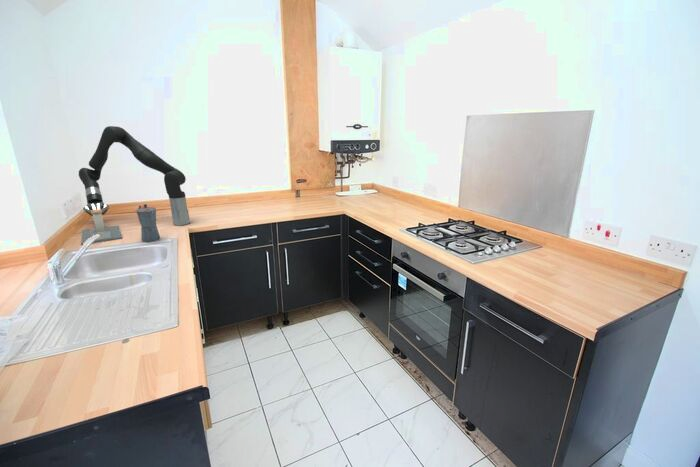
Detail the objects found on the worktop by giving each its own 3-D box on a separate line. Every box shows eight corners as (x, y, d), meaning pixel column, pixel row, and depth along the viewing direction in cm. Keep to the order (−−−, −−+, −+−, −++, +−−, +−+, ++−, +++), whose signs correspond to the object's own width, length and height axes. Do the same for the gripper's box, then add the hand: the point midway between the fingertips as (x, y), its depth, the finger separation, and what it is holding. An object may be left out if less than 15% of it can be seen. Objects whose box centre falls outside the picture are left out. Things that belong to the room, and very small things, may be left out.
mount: (92, 235, 189) (90, 228, 188) (110, 232, 194) (109, 226, 193) (92, 241, 180) (90, 234, 179) (111, 238, 185) (110, 231, 184)
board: (82, 232, 198) (82, 230, 198) (119, 226, 208) (118, 225, 208) (81, 245, 177) (81, 243, 177) (122, 238, 187) (122, 237, 187)
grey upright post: (96, 232, 194) (90, 209, 190) (106, 230, 197) (101, 208, 193) (96, 234, 191) (90, 211, 187) (106, 232, 193) (101, 210, 189)
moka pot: (149, 244, 178) (142, 207, 172) (134, 239, 186) (126, 203, 180) (166, 239, 186) (160, 204, 180) (151, 234, 194) (145, 200, 187)
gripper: (78, 193, 197) (83, 218, 191) (106, 191, 204) (111, 215, 198) (81, 201, 202) (85, 225, 197) (108, 198, 210) (113, 222, 204)
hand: (98, 220), depth 197 cm, fingers closed
